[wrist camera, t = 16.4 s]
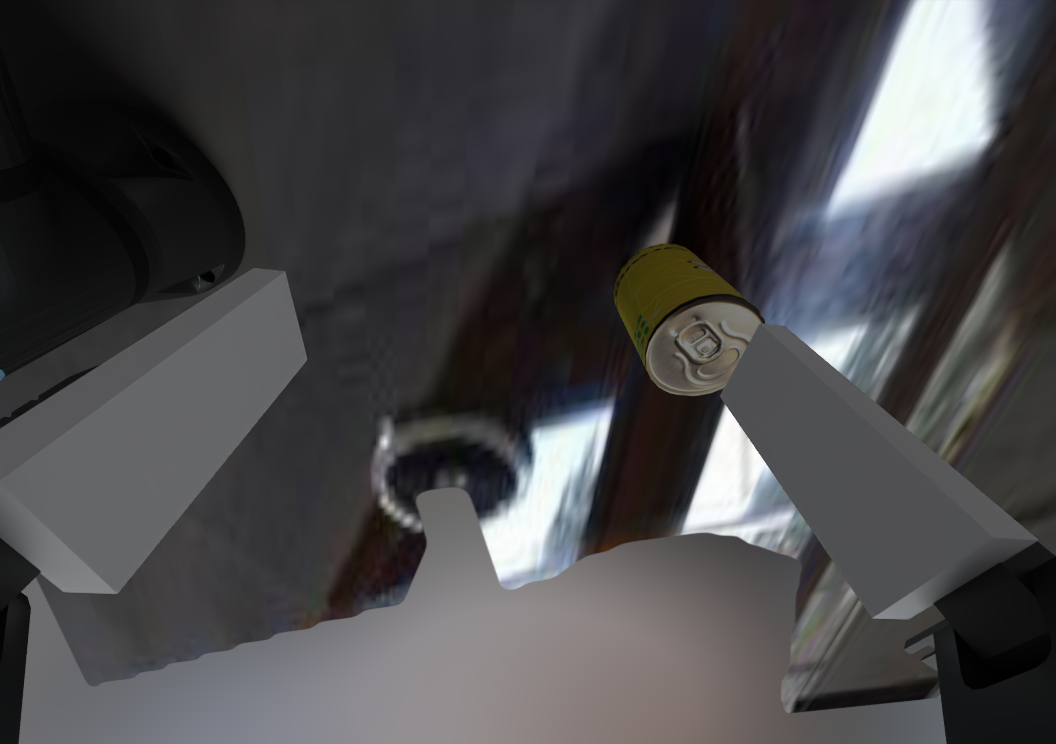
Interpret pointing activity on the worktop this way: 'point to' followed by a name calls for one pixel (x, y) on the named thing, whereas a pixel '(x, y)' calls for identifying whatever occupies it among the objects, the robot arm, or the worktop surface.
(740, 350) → the beverage can
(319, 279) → the worktop surface
